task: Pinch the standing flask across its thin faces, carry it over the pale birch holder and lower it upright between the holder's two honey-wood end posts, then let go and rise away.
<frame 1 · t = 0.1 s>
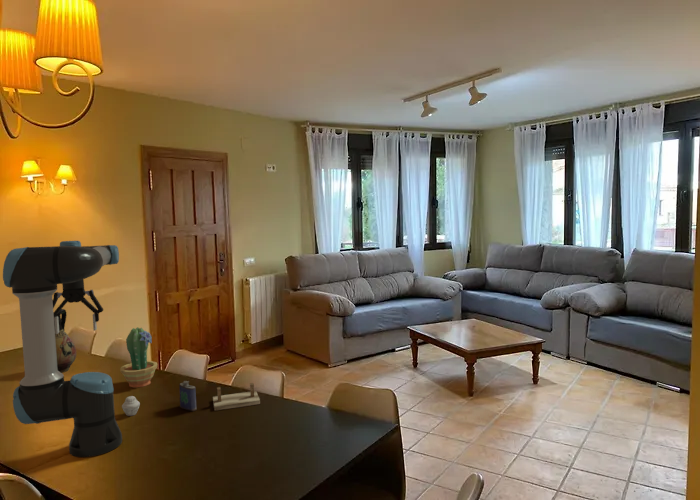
hand: (76, 331, 198), 28 cm above the table, tool pointing down, fingers open, 13 cm apart
potted cactus: (140, 384, 217), on the table
white rounded jar: (131, 414, 183), on the table
slice holder: (236, 402, 192), on the table
ceramic jug: (60, 371, 240), on the table
flask: (187, 408, 188), on the table
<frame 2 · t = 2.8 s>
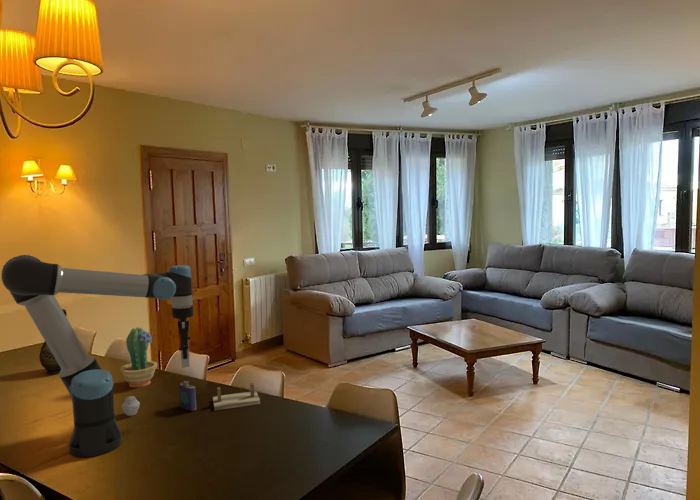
hand: (185, 362, 186), 18 cm above the table, tool pointing down, fingers open, 13 cm apart
nothing on the table moved.
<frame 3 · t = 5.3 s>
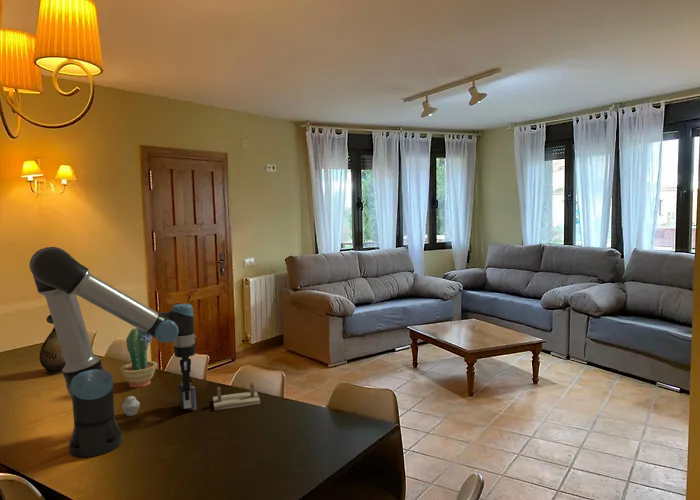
hand: (187, 403, 188), 2 cm above the table, tool pointing down, fingers closed on flask, 8 cm apart
flask: (187, 408, 188), on the table, touching gripper
everything else where it was.
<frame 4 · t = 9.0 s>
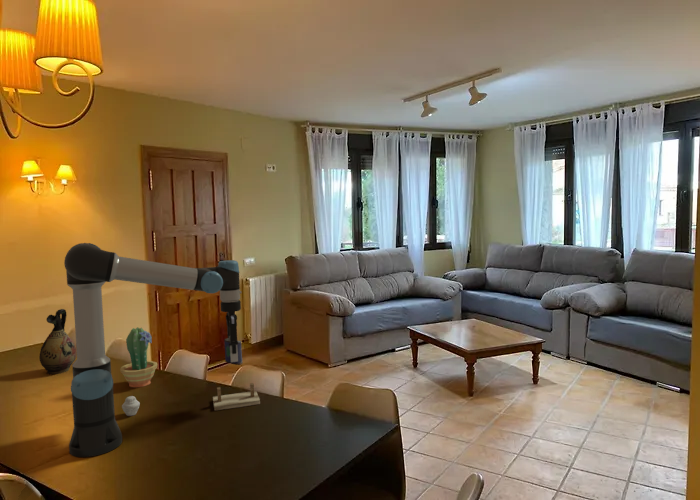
hand: (233, 358, 191), 17 cm above the table, tool pointing down, fingers closed on flask, 8 cm apart
flask: (233, 363, 191), point 16 cm above the table, touching gripper
everything else where it was.
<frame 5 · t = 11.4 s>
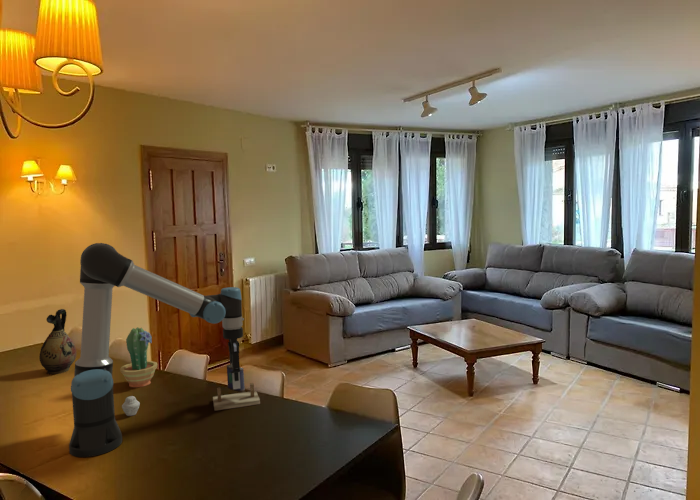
hand: (235, 384, 192), 7 cm above the table, tool pointing down, fingers closed on flask, 8 cm apart
flask: (235, 389, 192), point 5 cm above the table, touching gripper
everything else where it was.
when the fingers open (4 cm above the table, at t = 13.0 s): flask stays where it is, resting on slice holder.
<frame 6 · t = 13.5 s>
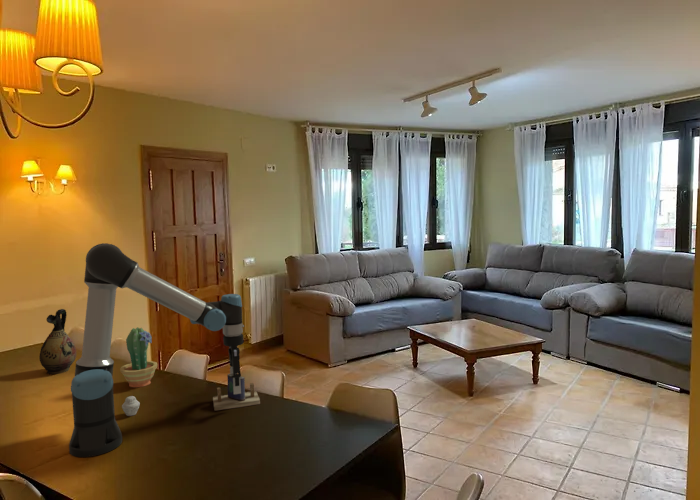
hand: (235, 387, 192), 6 cm above the table, tool pointing down, fingers open, 13 cm apart
flask: (236, 398, 192), point 1 cm above the table, touching slice holder
everything else where it was.
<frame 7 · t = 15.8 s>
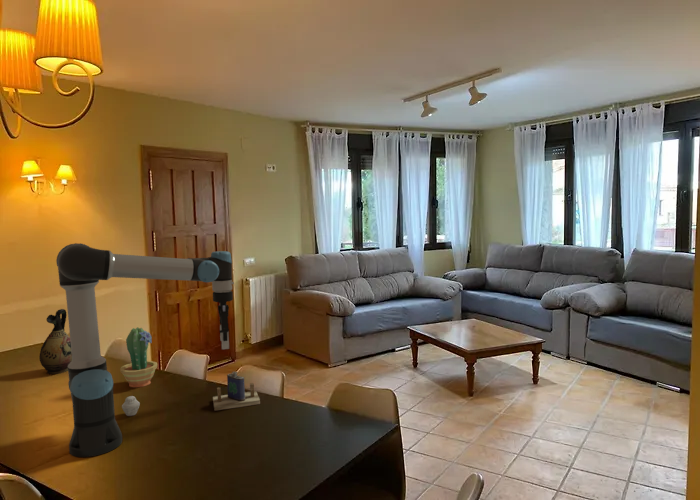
hand: (224, 344, 193), 22 cm above the table, tool pointing down, fingers open, 13 cm apart
nothing on the table moved.
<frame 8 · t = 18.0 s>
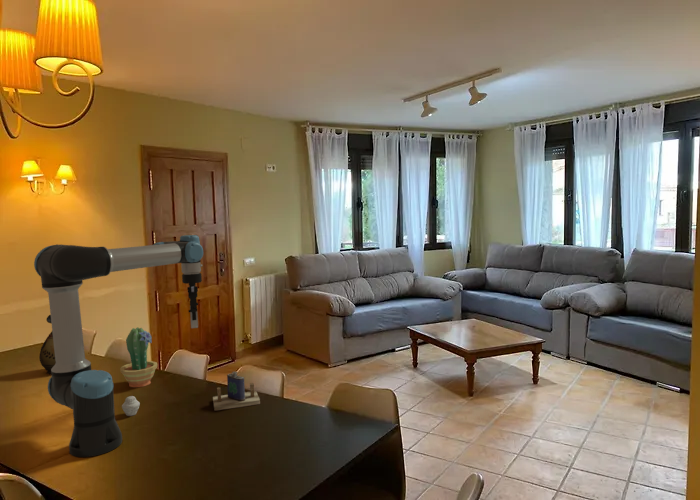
hand: (194, 324, 202), 29 cm above the table, tool pointing down, fingers open, 13 cm apart
nothing on the table moved.
at the end: flask 0.1 cm off-centre on the slice holder, point 1.3 cm above the slice holder's base; flask tilted 1°; the gripper is holding nothing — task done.
